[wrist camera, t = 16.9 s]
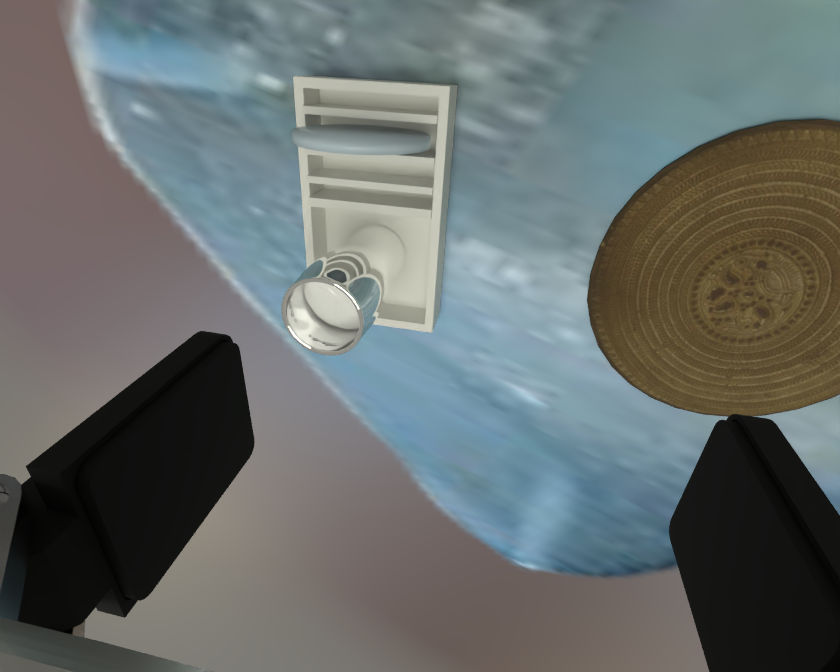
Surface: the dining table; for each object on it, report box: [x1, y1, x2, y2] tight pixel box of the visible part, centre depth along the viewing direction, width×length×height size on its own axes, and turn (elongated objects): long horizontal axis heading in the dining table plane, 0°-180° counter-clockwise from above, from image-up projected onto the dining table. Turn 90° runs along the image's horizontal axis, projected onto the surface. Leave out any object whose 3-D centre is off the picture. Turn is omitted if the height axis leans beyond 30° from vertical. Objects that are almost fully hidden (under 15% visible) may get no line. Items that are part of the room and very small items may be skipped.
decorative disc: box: [587, 119, 840, 417], centre depth 43 cm, size 29×3×30 cm
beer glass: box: [282, 225, 405, 355], centre depth 42 cm, size 7×7×15 cm
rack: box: [291, 76, 458, 333], centre depth 42 cm, size 22×13×12 cm, turn 177°
